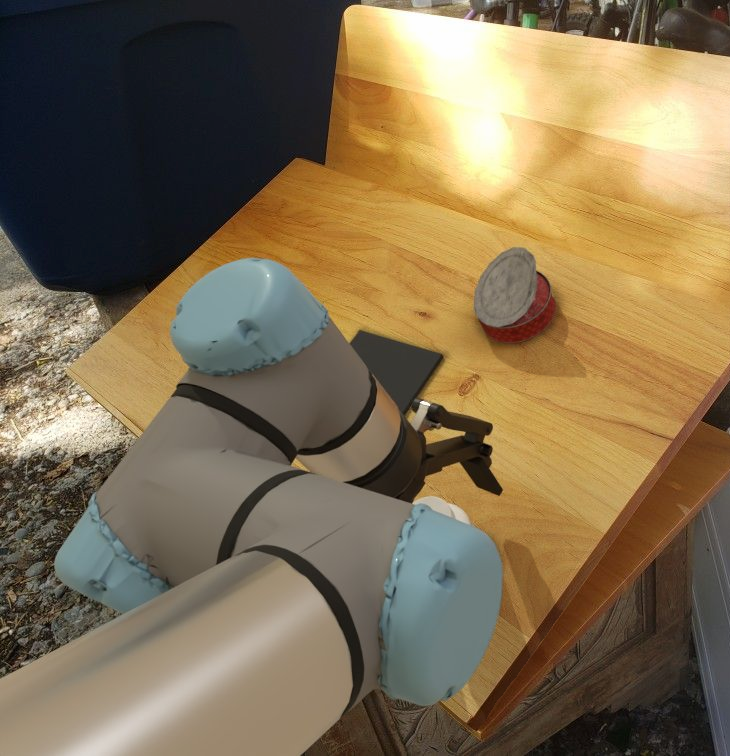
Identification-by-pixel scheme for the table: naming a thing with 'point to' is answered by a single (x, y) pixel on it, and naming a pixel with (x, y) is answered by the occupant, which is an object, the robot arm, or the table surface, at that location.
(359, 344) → the mat
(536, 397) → the table surface
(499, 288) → the canned food
